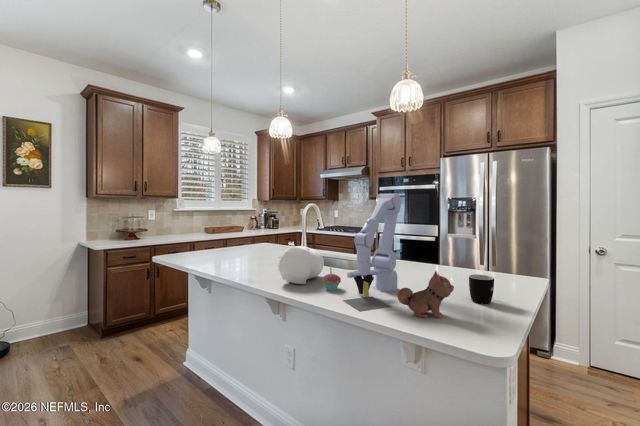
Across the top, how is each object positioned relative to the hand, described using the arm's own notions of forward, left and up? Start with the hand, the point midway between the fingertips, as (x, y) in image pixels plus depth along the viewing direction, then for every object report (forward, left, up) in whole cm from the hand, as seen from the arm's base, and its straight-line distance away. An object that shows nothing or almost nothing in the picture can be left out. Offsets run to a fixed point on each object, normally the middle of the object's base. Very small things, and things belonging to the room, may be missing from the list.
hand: (363, 293), depth 132 cm
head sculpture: (+15, -38, -2) cm, 41 cm away
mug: (-41, +23, -2) cm, 47 cm away
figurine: (-10, +26, -2) cm, 28 cm away
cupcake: (+8, -15, -2) cm, 17 cm away
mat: (+4, +9, -2) cm, 10 cm away
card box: (0, 0, -1) cm, 1 cm away
